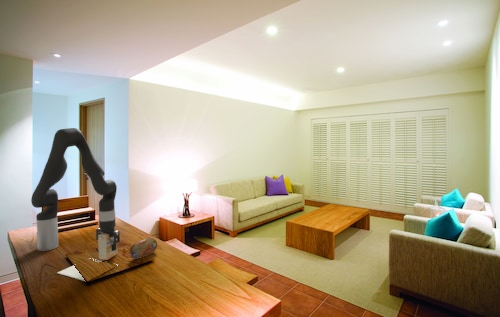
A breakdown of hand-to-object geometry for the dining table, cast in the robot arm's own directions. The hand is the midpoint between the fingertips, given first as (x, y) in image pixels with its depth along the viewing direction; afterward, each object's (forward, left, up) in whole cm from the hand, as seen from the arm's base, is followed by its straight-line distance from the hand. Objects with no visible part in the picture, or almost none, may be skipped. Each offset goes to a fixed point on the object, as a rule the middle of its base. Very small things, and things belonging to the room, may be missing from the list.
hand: (108, 249), depth 135 cm
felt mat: (+3, -13, -4) cm, 14 cm away
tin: (+16, +8, -5) cm, 18 cm away
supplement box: (0, 0, -4) cm, 4 cm away
